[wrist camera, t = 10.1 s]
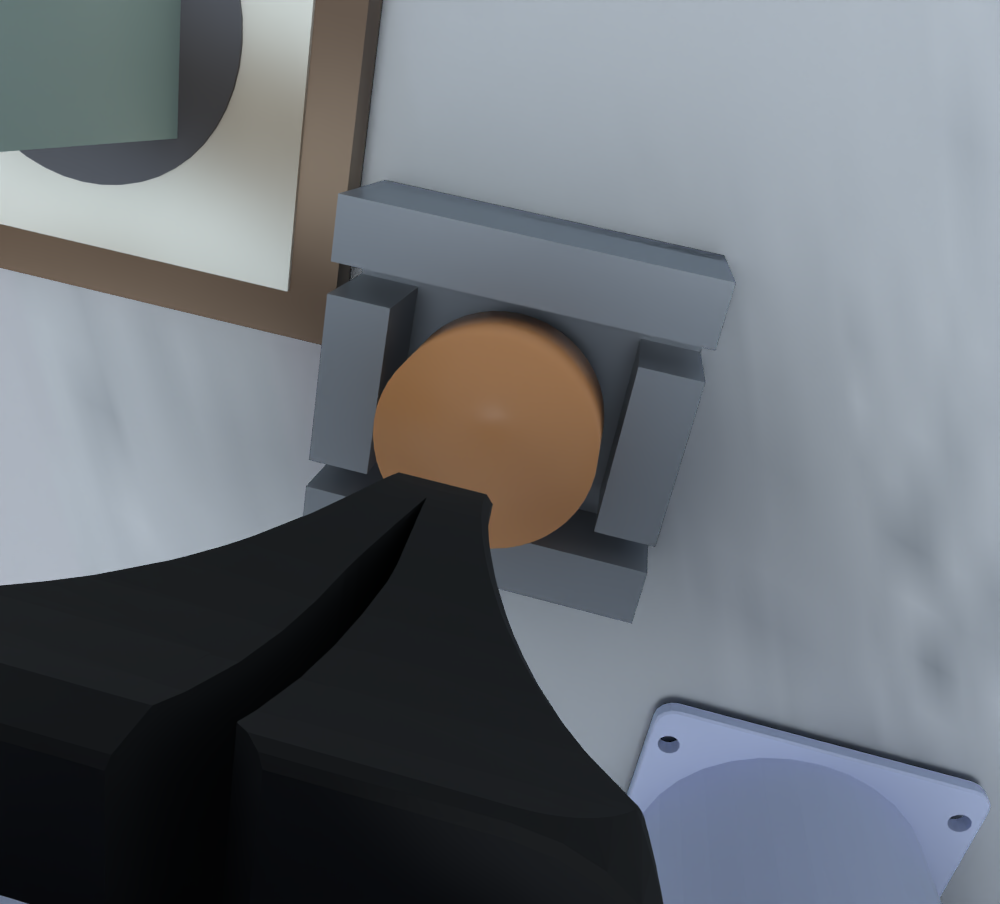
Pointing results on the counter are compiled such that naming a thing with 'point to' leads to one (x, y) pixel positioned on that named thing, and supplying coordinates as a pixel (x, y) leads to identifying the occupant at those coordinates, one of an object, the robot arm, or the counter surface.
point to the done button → (497, 420)
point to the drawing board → (215, 173)
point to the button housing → (556, 301)
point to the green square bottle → (88, 72)
